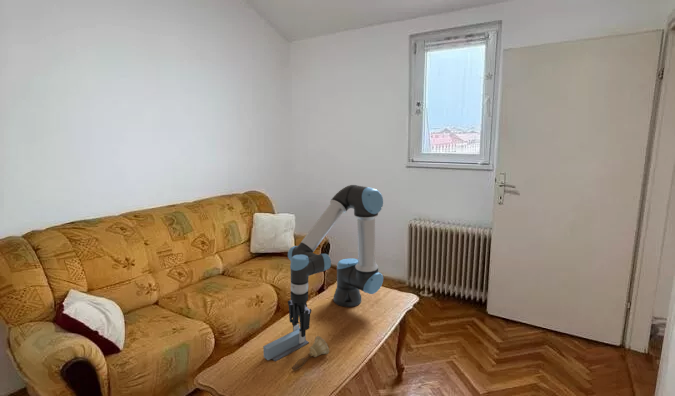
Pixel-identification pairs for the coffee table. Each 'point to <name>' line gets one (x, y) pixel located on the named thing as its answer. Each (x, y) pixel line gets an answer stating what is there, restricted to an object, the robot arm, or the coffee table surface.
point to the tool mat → (289, 351)
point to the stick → (281, 345)
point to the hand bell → (313, 352)
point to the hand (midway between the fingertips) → (299, 340)
